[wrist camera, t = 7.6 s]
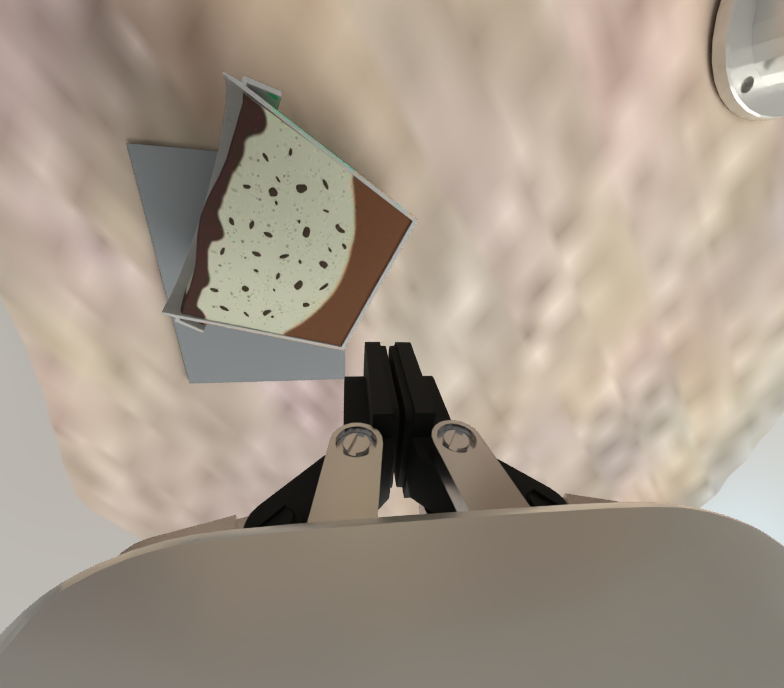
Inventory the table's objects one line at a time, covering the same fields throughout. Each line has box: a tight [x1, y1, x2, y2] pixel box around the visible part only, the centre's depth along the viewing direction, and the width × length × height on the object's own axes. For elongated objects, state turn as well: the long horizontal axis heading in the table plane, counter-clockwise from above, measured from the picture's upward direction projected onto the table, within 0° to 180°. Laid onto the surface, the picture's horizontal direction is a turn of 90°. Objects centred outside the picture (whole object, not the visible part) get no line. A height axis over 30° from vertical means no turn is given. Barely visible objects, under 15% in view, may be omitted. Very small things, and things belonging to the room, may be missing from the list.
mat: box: [126, 143, 345, 383], centre depth 22 cm, size 12×16×1 cm
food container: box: [162, 71, 418, 350], centre depth 19 cm, size 12×6×10 cm
